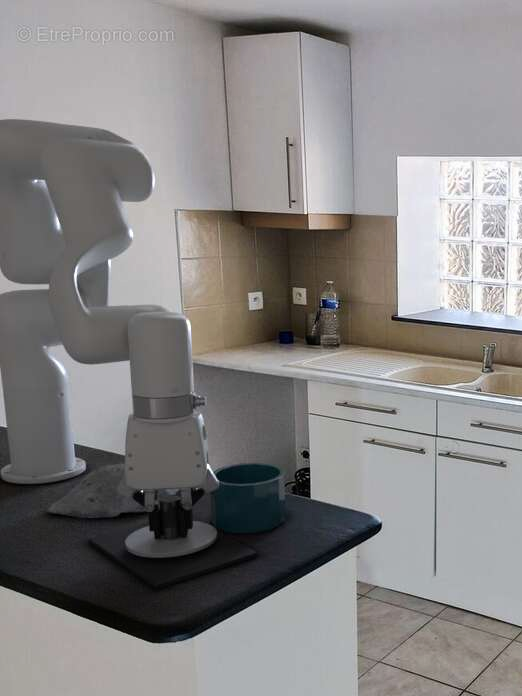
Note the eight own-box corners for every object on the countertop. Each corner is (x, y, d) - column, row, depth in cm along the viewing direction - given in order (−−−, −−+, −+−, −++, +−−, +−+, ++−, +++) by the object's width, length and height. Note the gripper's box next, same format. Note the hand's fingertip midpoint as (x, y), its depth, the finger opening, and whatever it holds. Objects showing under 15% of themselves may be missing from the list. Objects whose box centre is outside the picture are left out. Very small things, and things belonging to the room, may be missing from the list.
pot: (215, 509, 126) (213, 464, 124) (285, 505, 129) (284, 461, 127) (208, 535, 116) (206, 486, 114) (285, 531, 119) (283, 483, 117)
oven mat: (88, 542, 112) (88, 538, 111) (185, 517, 122) (185, 513, 122) (156, 589, 99) (156, 585, 99) (257, 556, 110) (257, 552, 110)
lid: (134, 531, 114) (131, 486, 113) (220, 526, 118) (219, 482, 116) (117, 565, 103) (113, 516, 102) (213, 558, 107) (210, 511, 105)
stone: (116, 458, 137) (191, 445, 133) (128, 500, 138) (202, 489, 134) (33, 485, 120) (116, 472, 116) (46, 533, 121) (129, 522, 117)
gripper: (231, 398, 112) (236, 521, 116) (103, 400, 107) (112, 528, 111) (226, 411, 105) (232, 541, 109) (89, 414, 100) (100, 549, 104)
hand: (171, 533), depth 110 cm, fingers closed on lid, 2 cm apart
